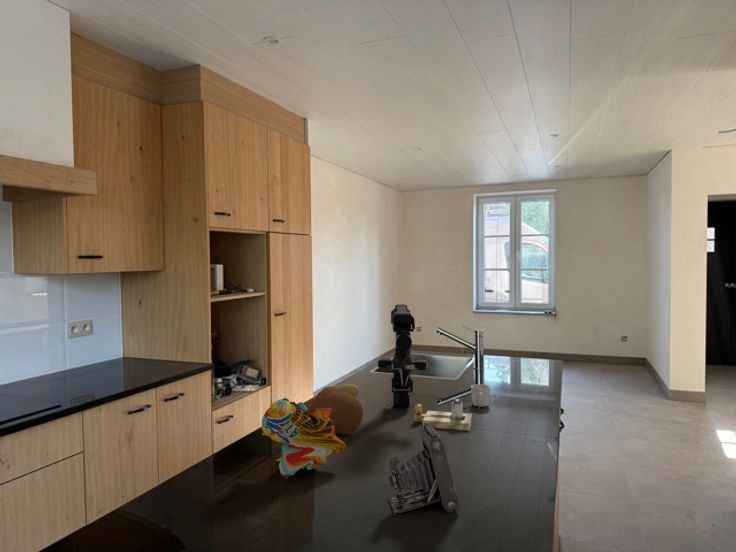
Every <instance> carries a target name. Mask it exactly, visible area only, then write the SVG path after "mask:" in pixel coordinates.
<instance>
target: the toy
mask: <svg viewBox="0 0 736 552" xmlns="http://www.w3.org/2000/svg"><path fill="white" fill-rule="evenodd" d="M359 392H360V390H359V387H358V386H357V385H356V384H352V383H345V384H342V385H341V386H340V387H339V388H338V387H335V386H331V385H330V386H325V387H324V388H322V389H321V390H319V392H318V393H317V394H316V396H314V399H313V400H312V401H311V403H310V404H309V406H308V408H307V409H308V410H313V409H321V408H332V409H333V412H332V414H331V416H330V419H331V420H332V422H333V426H334V429H335V435H336V434H337V435H348V434H351V433H353V432H355V431H356V430H357V429H358V428H359V427H360V425H361V423H362V421H363V416H364V410H363V406H362V404H361V402H360V401H359V400H358V399H357V398H356V397H357V396H358V395H359Z"/></svg>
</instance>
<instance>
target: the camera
mask: <svg viewBox="0 0 736 552" xmlns="http://www.w3.org/2000/svg"><path fill="white" fill-rule="evenodd" d="M419 434H420V439H421V443H422V447H423V450H421V451H419V452H418V453H417V454H415V455H413V457H412V458H409V459H407V460H406V462H404V463H401V464H400V459H399V457H395V456H394V457H392V458H389V459H388V461H389V462H388V469H389V472H390V476H388V480H389V483H390V486H391V487H393V490H398V491H397V493H396V496H393V497H390V498H388V501H389V500H390V499H391V500H393V501H392V504H391V505H390V507H391V506H394V508H397V510H398V512H394V511H392V513H399V514H402V513H404V512H405V513H406V512H408V511H409V512H410V511H413V510H416V509H419V508H422V507H425V506H427V505H431V504H433V503H438V502H440V503H441V505H442V507H443V508H444V511H445V512H448V513H449V512H451V511H455V512H456V511H457V510H458V509H459V507H460V501H459V499H458V498H459V497H458V495H457V491H456V487H455V482H454V478H453V474H452V469H451V465H450V462H449V458H448V454H447V446H446V442H444V439H443V438H442V437H441V436H440V434H439V433H438V432H437V431H436V428H433V427H432V426H431V425H429V423H424V426H423V425H422V428H421V429H420V433H419ZM399 464H400V466H398V465H399ZM402 490H410V492H406V493H403V492H402ZM411 490H414V491H411ZM390 503H391V502H389V504H390ZM392 509H393V508H391V510H392Z"/></svg>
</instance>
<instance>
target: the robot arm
mask: <svg viewBox="0 0 736 552" xmlns="http://www.w3.org/2000/svg"><path fill="white" fill-rule="evenodd" d="M390 324H391V325H392V332H393V333H395V339H394V340H395V342H394V343H395V349H394V350H395V351H394V355H393V358H392V359H391V358H389V357H381V358H379V360H378V361H377V368H379V369H386V368H387V367H388V366H391V371H393V374H392V377H391V379H390V380H391V383H390V384H391V393H393V396H392V397H393V401H392V402H393V404H392V408H399V409H408V408H409V407H410V405H411V404H412V403H411V401H412V400H411V399H412V398H411V397H412V396H411V394H410V393H412V392H414V381H413V379H412V377H411V372H414V370H415V368H416V369H417V370H418V371H427V370H428V368H429V361H428V359H417V360H416V361H413V358H412V354H411V353H412V352H411V347H412V344H413V341H412V338H411V333H412V332H414V331H415V330H416V323H415V318H414V315H412V313H411V311H410V309H408V305H407V304H400V303H399V304H395V305H394V308H393V309H392V310H390Z"/></svg>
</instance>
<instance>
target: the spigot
mask: <svg viewBox="0 0 736 552" xmlns="http://www.w3.org/2000/svg"><path fill="white" fill-rule="evenodd" d="M463 407H464V406H463V402H462V399H460V398H453V401H452V402H451V412H452V420H463V413H464V412H463V411H464V410H463V409H464V408H463Z"/></svg>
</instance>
